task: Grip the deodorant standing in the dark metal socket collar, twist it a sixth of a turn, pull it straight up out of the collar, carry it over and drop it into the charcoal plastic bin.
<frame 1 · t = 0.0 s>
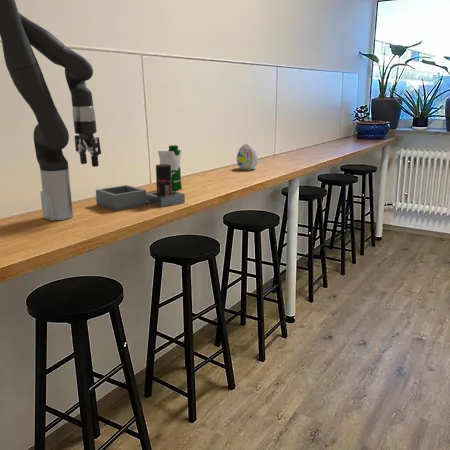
hand: (89, 165, 164), 17 cm above the table, tool pointing down, fingers open, 8 cm apart
socket collar: (164, 202, 182), on the table
bin: (121, 204, 178), on the table
milk carton: (170, 190, 206), on the table
deodorant: (164, 202, 183), resting in socket collar
decorative egg: (247, 169, 263), on the table
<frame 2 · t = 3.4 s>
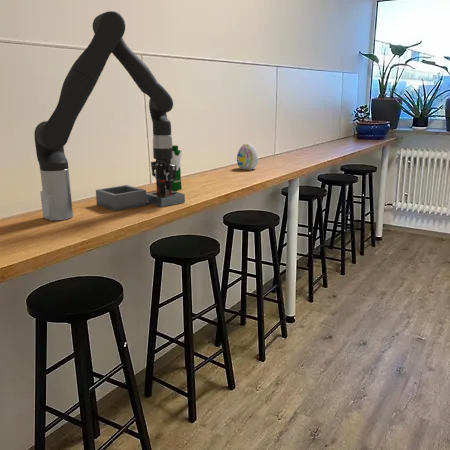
hand: (164, 188, 181), 6 cm above the table, tool pointing down, fingers closed on deodorant, 6 cm apart
deodorant: (164, 202, 183), resting in socket collar, touching gripper
everything else where it was.
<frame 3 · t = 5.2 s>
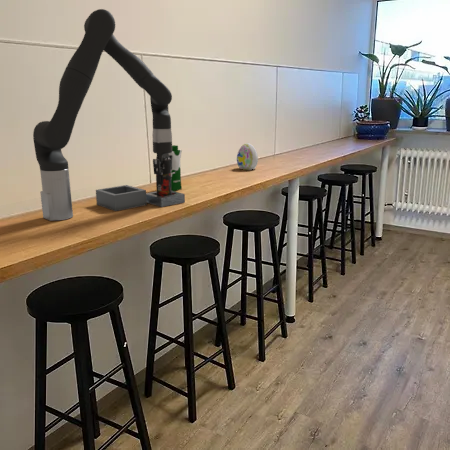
hand: (163, 182, 180), 8 cm above the table, tool pointing down, fingers closed on deodorant, 6 cm apart
deodorant: (164, 197, 182), point 2 cm above the table, touching gripper
everything else where it was.
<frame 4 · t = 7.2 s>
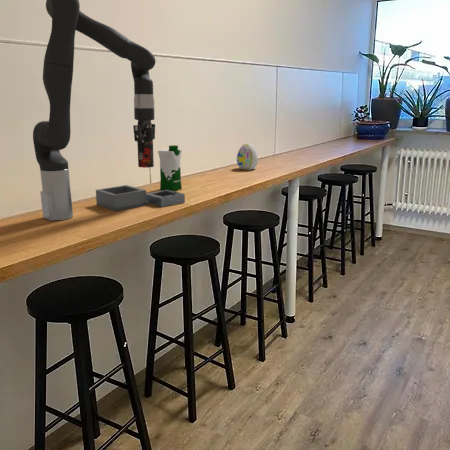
hand: (145, 151, 174), 21 cm above the table, tool pointing down, fingers closed on deodorant, 6 cm apart
deodorant: (146, 166, 176), point 15 cm above the table, touching gripper
everything else where it was.
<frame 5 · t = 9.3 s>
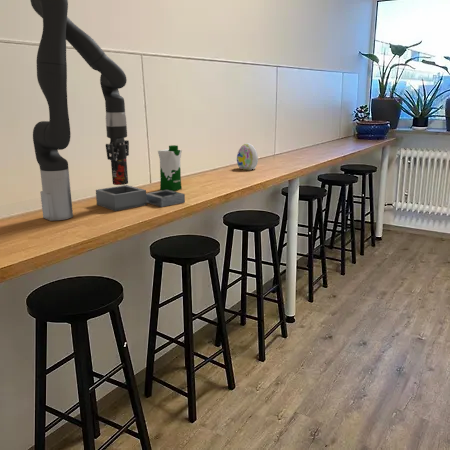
hand: (119, 169, 174), 14 cm above the table, tool pointing down, fingers closed on deodorant, 6 cm apart
deodorant: (120, 183, 176), point 8 cm above the table, touching gripper
everything else where it was.
when the fingers open (8 cm above the table, at t = 11.0 s): deodorant drops 1 cm, resting on bin.
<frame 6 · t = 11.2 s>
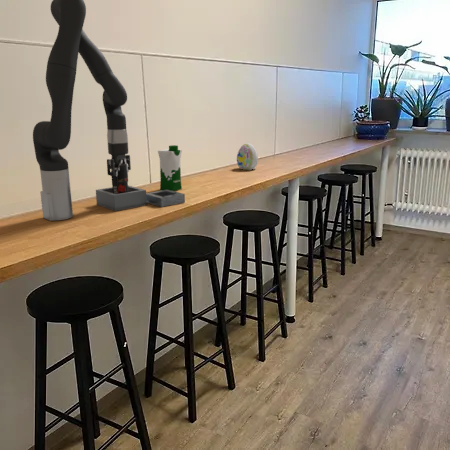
hand: (120, 183, 176), 8 cm above the table, tool pointing down, fingers open, 7 cm apart
deodorant: (121, 203, 177), point 1 cm above the table, touching bin
everything else where it was.
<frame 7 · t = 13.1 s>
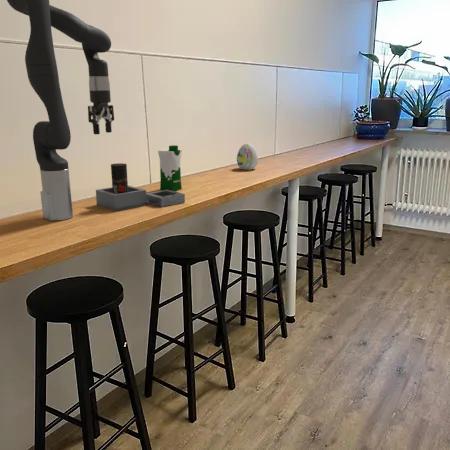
hand: (102, 133, 174), 27 cm above the table, tool pointing down, fingers open, 8 cm apart
nothing on the table moved.
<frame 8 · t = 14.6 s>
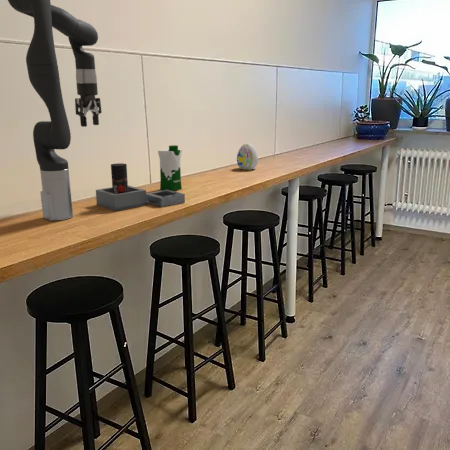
hand: (90, 125, 176), 30 cm above the table, tool pointing down, fingers open, 8 cm apart
nothing on the table moved.
at the end: deodorant inside the target area on the bin (0.3 cm from its centre), point 0.8 cm above the bin's base; deodorant moved 17.2 cm from its start; the gripper is holding nothing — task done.
